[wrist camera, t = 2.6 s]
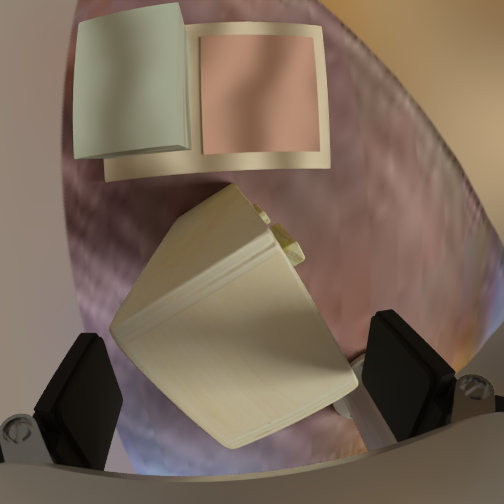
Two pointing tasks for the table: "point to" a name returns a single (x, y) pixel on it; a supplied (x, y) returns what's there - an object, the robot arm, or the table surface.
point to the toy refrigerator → (231, 324)
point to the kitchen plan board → (198, 95)
